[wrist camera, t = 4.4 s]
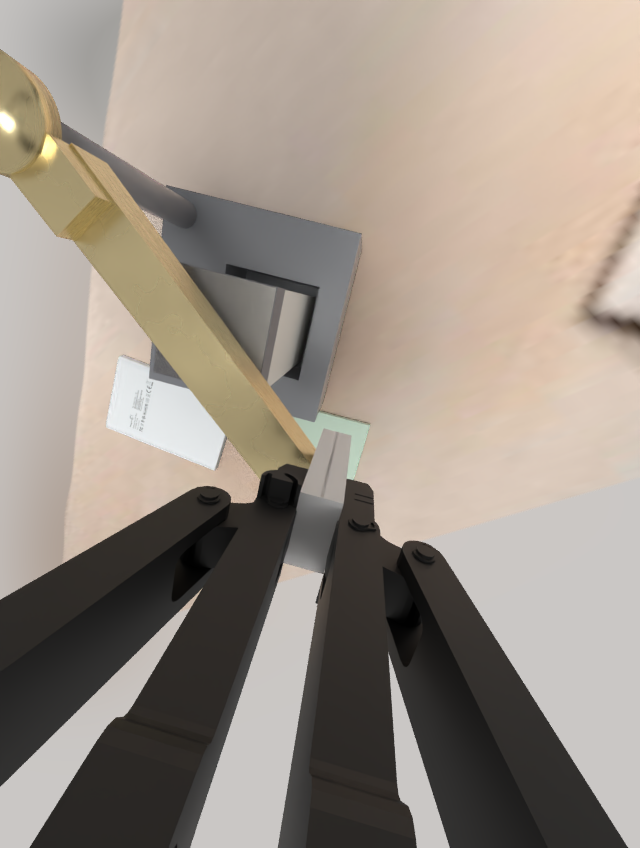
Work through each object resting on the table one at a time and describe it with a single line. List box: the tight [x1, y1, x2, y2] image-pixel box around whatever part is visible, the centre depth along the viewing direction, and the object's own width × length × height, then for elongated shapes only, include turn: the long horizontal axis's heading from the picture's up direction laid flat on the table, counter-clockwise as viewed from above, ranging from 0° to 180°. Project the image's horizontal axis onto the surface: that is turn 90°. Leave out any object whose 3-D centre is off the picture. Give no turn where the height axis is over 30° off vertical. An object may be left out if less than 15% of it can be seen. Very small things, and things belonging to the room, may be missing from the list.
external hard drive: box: [106, 355, 227, 471], centre depth 38 cm, size 2×8×12 cm
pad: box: [293, 411, 370, 480], centre depth 37 cm, size 8×8×1 cm
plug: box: [153, 262, 316, 386], centre depth 25 cm, size 6×6×15 cm
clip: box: [0, 49, 316, 480], centre depth 15 cm, size 19×4×4 cm, turn 35°
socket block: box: [61, 122, 362, 422], centre depth 25 cm, size 14×14×20 cm
